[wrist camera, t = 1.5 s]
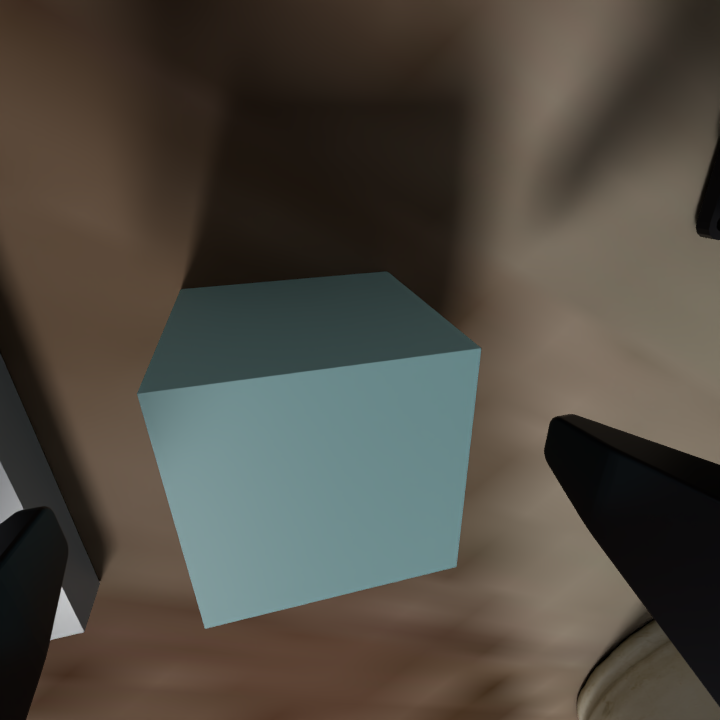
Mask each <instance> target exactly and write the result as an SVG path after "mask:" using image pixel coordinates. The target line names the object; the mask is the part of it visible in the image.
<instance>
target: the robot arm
mask: <svg viewBox="0 0 720 720" xmlns="http://www.w3.org/2000/svg"><path fill="white" fill-rule="evenodd" d="M696 230H697V234H698V235H699V236H700V237H705V238H710V239H716V240H720V149H719V153H718V156H717V159H716V162H715V165H714V169H713V172H712V175H711V178H710V181H709V185H708V188H707V191H706V194H705V197H704V200H703V204H702V207H701V210H700V213H699V216H698V220H697V225H696ZM544 454H545V458H546V461H547V463H548V465H549V467H550V468H551V470H552V471H553V473H554V475H555V476H556V478H557V480H558V481H559V483H560V485H561V486H562V488H563V490H564V491H565V493H566V495H567V496H568V498H569V500H570V501H571V503H572V504H573V506H574V508H575V509H576V511H577V513H578V514H579V516H580V518H581V519H582V521H583V522H584V524H585V525H586V527H587V528H588V530H589V531H590V533H591V534H592V536H593V537H594V538H595V540H596V541H597V542H598V544H599V545H600V547H601V548H602V549H603V551H604V552H605V553H606V555H607V556H608V557H609V559H610V560H611V561H612V563H613V564H614V565H615V567H616V568H617V569H618V571H619V572H620V574H621V575H622V576H623V578H624V579H625V580H626V582H627V583H628V584H629V586H630V587H631V588H632V590H633V591H634V592H635V594H636V595H637V596H638V598H639V599H640V601H641V602H642V603H643V605H644V606H645V607H646V609H647V610H648V611H649V613H650V614H651V615H652V617H653V618H654V619H655V621H656V622H657V624H658V625H659V626H660V628H661V629H662V630H663V632H664V633H665V634H666V636H667V637H668V638H669V640H670V641H671V642H672V644H673V645H674V646H675V648H676V649H677V651H678V652H679V653H680V655H681V656H682V657H683V659H684V660H685V661H686V663H687V664H688V665H689V667H690V668H691V669H692V671H693V672H694V673H695V675H696V676H697V678H698V679H699V680H700V682H701V683H702V684H703V686H704V687H705V688H706V690H707V691H708V692H709V694H710V695H711V696H712V698H713V699H714V700H715V702H716V703H717V705H718V706H719V707H720V465H719V464H716V463H713V462H710V461H707V460H704V459H701V458H699V457H696V456H693V455H690V454H687V453H684V452H681V451H678V450H676V449H673V448H670V447H667V446H664V445H661V444H658V443H655V442H652V441H650V440H647V439H644V438H641V437H638V436H635V435H632V434H629V433H627V432H624V431H621V430H618V429H615V428H612V427H609V426H606V425H603V424H601V423H598V422H595V421H592V420H589V419H586V418H583V417H580V416H578V415H574V414H568V415H562V416H557V417H554V418H553V419H552V420H551V421H550V424H549V429H548V434H547V439H546V443H545V448H544ZM68 554H69V548H68V542H67V540H66V537H65V535H64V533H63V531H62V529H61V526H60V524H59V522H58V520H57V518H56V515H55V513H54V512H53V510H52V509H51V508H50V507H47V506H41V507H35V508H29V509H24V510H20V511H17V512H15V513H14V514H13V515H11V516H10V517H9V518H7V519H6V520H5V521H3V522H2V523H1V524H0V720H26V718H27V715H28V712H29V709H30V706H31V703H32V700H33V697H34V694H35V691H36V688H37V685H38V682H39V679H40V675H41V672H42V669H43V666H44V662H45V659H46V656H47V651H48V647H49V643H50V639H51V635H52V630H53V625H54V621H55V616H56V611H57V607H58V602H59V597H60V593H61V588H62V584H63V579H64V574H65V570H66V565H67V560H68Z"/></svg>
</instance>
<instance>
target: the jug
mask: <svg viewBox="0 0 720 720" xmlns="http://www.w3.org/2000/svg"><path fill="white" fill-rule="evenodd" d="M577 714H578V718H579V720H720V707H719V706H718V705H717V703H716V702H715V700H714V699H713V698H712V696H711V695H710V694H709V692H708V691H707V690H706V688H705V687H704V686H703V684H702V683H701V682H700V680H699V679H698V678H697V676H696V675H695V673H694V672H693V671H692V669H691V668H690V667H689V665H688V664H687V663H686V661H685V660H684V659H683V657H682V656H681V655H680V653H679V652H678V651H677V649H676V648H675V646H674V645H673V644H672V642H671V641H670V640H669V638H668V637H667V636H666V634H665V633H664V632H663V630H662V629H661V628H660V626H659V625H658V624H657V622H656V621H655V620H653V621H652V622H650V623H648V624H647V625H646V626H644V627H643V628H642V629H641V630H639V631H638V632H636V633H634V634H633V635H631V636H630V637H629V638H627V639H626V640H625V641H624V642H623V643H621V644H620V645H619V646H618V647H617V648H616V649H615V650H614V651H613V652H612V653H611V654H610V655H609V656H608V657H607V658H606V659H605V660H604V661H603V662H602V663H601V664H600V665H598V666H597V667H596V668H595V670H594V671H593V672H592V674H591V675H590V677H589V679H588V680H587V682H586V685H585V686H584V687H583V688H582V690H581V692H580V694H579V697H578V700H577Z"/></svg>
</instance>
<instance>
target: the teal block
mask: <svg viewBox="0 0 720 720" xmlns="http://www.w3.org/2000/svg"><path fill="white" fill-rule="evenodd" d="M480 355H481V348H480V347H479V346H478V345H477V344H475V343H474V342H473V341H472V340H471V339H469V338H468V337H467V336H466V335H464V334H463V333H462V332H461V331H460V330H458V329H457V328H456V327H455V326H453V325H452V324H451V323H450V322H449V321H447V320H446V319H445V318H444V317H442V316H441V315H440V314H439V313H438V312H436V311H435V310H434V309H433V308H431V307H430V306H429V305H428V304H427V303H425V302H424V301H423V300H422V299H420V298H419V297H418V296H417V295H416V294H414V293H413V292H412V291H411V290H409V289H408V288H407V287H406V286H405V285H403V284H402V283H401V282H400V281H398V280H397V279H396V278H395V277H394V276H392V275H391V274H390V273H389V272H387V271H385V272H374V273H362V274H351V275H339V276H327V277H316V278H304V279H293V280H281V281H270V282H258V283H247V284H235V285H223V286H212V287H200V288H189V289H181V290H180V292H179V295H178V297H177V300H176V302H175V304H174V307H173V309H172V312H171V314H170V316H169V319H168V321H167V324H166V326H165V328H164V331H163V333H162V336H161V338H160V340H159V343H158V345H157V347H156V350H155V352H154V355H153V357H152V359H151V362H150V364H149V367H148V369H147V371H146V374H145V376H144V379H143V381H142V383H141V386H140V388H139V391H138V393H137V395H138V399H139V402H140V405H141V409H142V412H143V416H144V419H145V423H146V426H147V430H148V433H149V437H150V440H151V443H152V447H153V450H154V454H155V457H156V461H157V464H158V468H159V471H160V475H161V478H162V482H163V485H164V488H165V492H166V495H167V499H168V502H169V506H170V509H171V513H172V516H173V520H174V523H175V526H176V530H177V533H178V537H179V540H180V544H181V547H182V551H183V554H184V558H185V561H186V565H187V568H188V571H189V575H190V578H191V582H192V585H193V589H194V592H195V596H196V599H197V603H198V606H199V609H200V613H201V616H202V620H203V623H204V627H205V629H206V628H210V627H214V626H218V625H222V624H226V623H230V622H234V621H238V620H242V619H246V618H251V617H255V616H259V615H263V614H267V613H271V612H275V611H279V610H283V609H287V608H291V607H295V606H299V605H303V604H307V603H311V602H315V601H320V600H324V599H328V598H332V597H336V596H340V595H344V594H348V593H352V592H356V591H360V590H364V589H368V588H372V587H376V586H380V585H384V584H389V583H393V582H397V581H401V580H405V579H409V578H413V577H417V576H421V575H425V574H429V573H433V572H437V571H441V570H445V569H449V568H453V567H456V566H457V557H458V548H459V539H460V531H461V522H462V513H463V504H464V495H465V487H466V478H467V469H468V460H469V451H470V443H471V434H472V425H473V416H474V408H475V399H476V390H477V381H478V372H479V364H480Z"/></svg>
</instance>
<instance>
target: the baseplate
mask: <svg viewBox="0 0 720 720" xmlns="http://www.w3.org/2000/svg"><path fill="white" fill-rule="evenodd" d="M41 506H47V507H50V508H51V509H52V510H53V512H54V513H55V515H56V518H57V520H58V522H59V524H60V526H61V529H62V531H63V533H64V535H65V537H66V540H67V542H68V548H69V554H68V560H67V565H66V570H65V574H64V579H63V584H62V588H61V593H60V597H59V602H58V607H57V611H56V616H55V621H54V625H53V630H52V635H51V639H50V640H52V639H56V638H61V637H65V636H69V635H74V634H78V633H82V632H84V631H85V628H86V625H87V622H88V619H89V616H90V613H91V609H92V606H93V603H94V600H95V597H96V594H97V591H98V588H99V585H100V583H99V580H98V578H97V576H96V573H95V571H94V569H93V566H92V564H91V562H90V559H89V557H88V555H87V553H86V550H85V548H84V546H83V543H82V541H81V539H80V536H79V534H78V532H77V529H76V527H75V525H74V522H73V520H72V518H71V516H70V513H69V511H68V509H67V506H66V504H65V502H64V499H63V497H62V495H61V492H60V490H59V488H58V485H57V483H56V481H55V479H54V476H53V474H52V472H51V469H50V467H49V465H48V462H47V460H46V458H45V455H44V453H43V451H42V448H41V446H40V444H39V442H38V439H37V437H36V435H35V432H34V430H33V428H32V425H31V423H30V421H29V418H28V416H27V414H26V411H25V409H24V407H23V405H22V402H21V400H20V398H19V395H18V393H17V391H16V388H15V386H14V384H13V381H12V379H11V377H10V374H9V372H8V370H7V368H6V365H5V363H4V361H3V358H2V356H1V354H0V524H1V523H2V522H3V521H5V520H6V519H7V518H9V517H10V516H11V515H13V514H14V513H15V512H17V511H20V510H24V509H29V508H35V507H41Z"/></svg>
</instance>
